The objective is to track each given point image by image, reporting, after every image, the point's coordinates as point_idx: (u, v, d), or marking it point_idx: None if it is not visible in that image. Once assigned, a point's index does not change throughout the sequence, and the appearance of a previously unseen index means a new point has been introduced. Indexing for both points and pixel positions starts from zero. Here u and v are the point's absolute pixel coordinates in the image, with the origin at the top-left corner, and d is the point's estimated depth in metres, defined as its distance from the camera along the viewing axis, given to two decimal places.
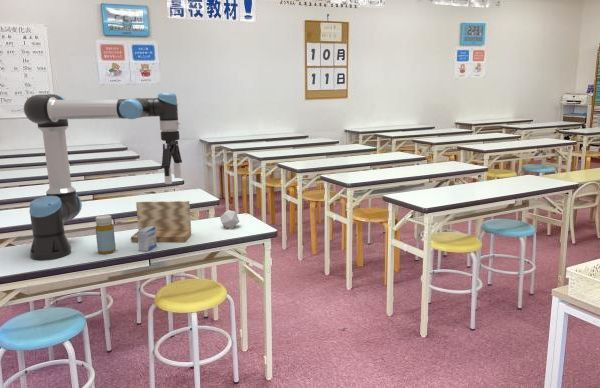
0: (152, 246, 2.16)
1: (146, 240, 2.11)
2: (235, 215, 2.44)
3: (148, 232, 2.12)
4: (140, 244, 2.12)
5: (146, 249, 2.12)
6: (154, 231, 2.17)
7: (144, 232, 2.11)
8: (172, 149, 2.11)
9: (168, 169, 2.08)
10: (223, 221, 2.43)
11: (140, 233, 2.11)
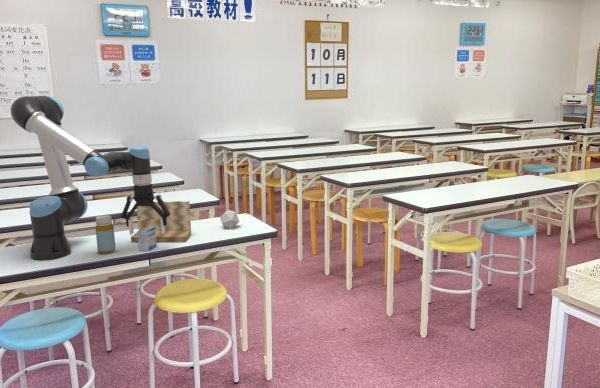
0: (152, 246, 2.16)
1: (146, 240, 2.11)
2: (235, 215, 2.44)
3: (148, 232, 2.12)
4: (140, 244, 2.12)
5: (146, 249, 2.12)
6: (154, 231, 2.17)
7: (144, 232, 2.11)
8: (136, 202, 2.11)
9: (127, 220, 2.13)
10: (223, 221, 2.43)
11: (140, 233, 2.11)
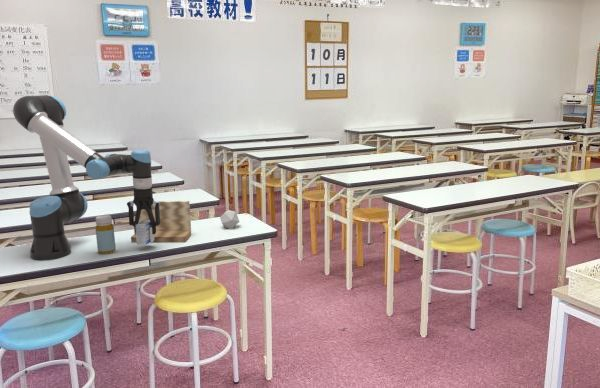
0: (150, 240, 2.15)
1: (145, 233, 2.11)
2: (235, 215, 2.44)
3: (146, 226, 2.12)
4: (138, 237, 2.12)
5: (144, 242, 2.12)
6: None
7: (142, 226, 2.10)
8: (137, 207, 2.11)
9: (135, 227, 2.14)
10: (223, 221, 2.43)
11: (138, 226, 2.11)
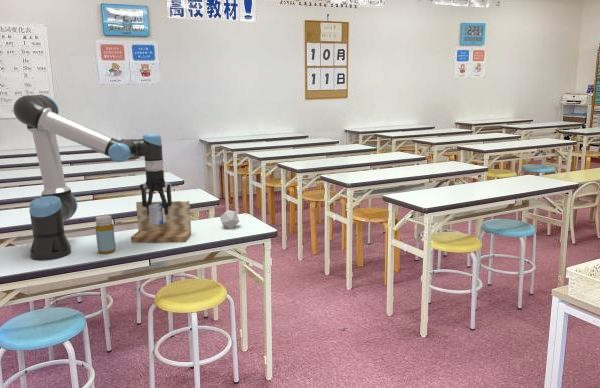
0: (162, 220, 2.24)
1: (157, 214, 2.20)
2: (235, 215, 2.44)
3: (159, 206, 2.21)
4: (151, 218, 2.21)
5: (157, 222, 2.21)
6: None
7: (155, 206, 2.19)
8: (149, 189, 2.21)
9: (148, 209, 2.23)
10: (223, 221, 2.43)
11: (151, 207, 2.20)
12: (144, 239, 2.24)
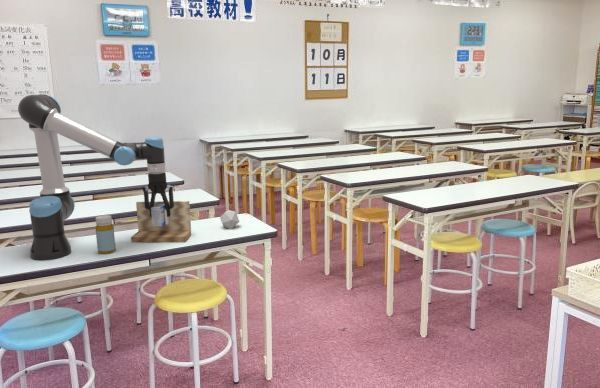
0: None
1: (160, 216, 2.23)
2: (235, 215, 2.44)
3: (161, 209, 2.24)
4: (153, 220, 2.24)
5: (160, 224, 2.24)
6: None
7: (157, 208, 2.23)
8: None
9: (150, 211, 2.26)
10: (223, 221, 2.43)
11: (154, 209, 2.23)
12: (144, 239, 2.24)
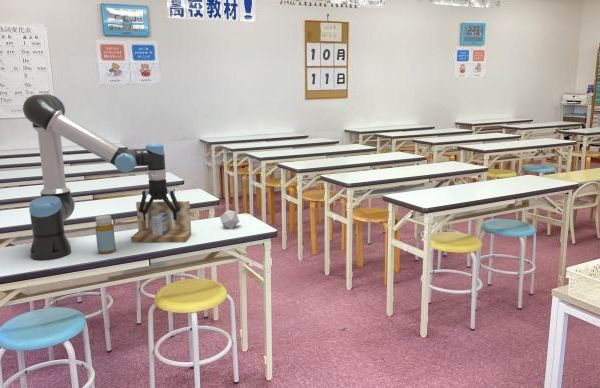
0: (165, 231, 2.29)
1: (161, 225, 2.24)
2: (235, 215, 2.44)
3: (162, 218, 2.25)
4: (154, 229, 2.25)
5: (161, 233, 2.25)
6: (166, 217, 2.30)
7: (158, 218, 2.24)
8: (151, 196, 2.24)
9: (144, 214, 2.27)
10: (223, 221, 2.43)
11: (154, 219, 2.24)
12: (144, 239, 2.24)
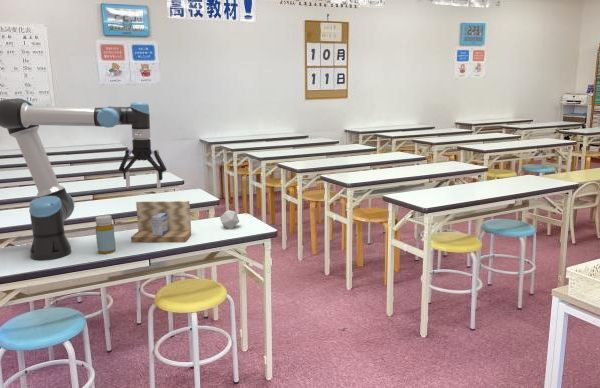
0: (165, 231, 2.29)
1: (161, 225, 2.24)
2: (235, 215, 2.44)
3: (162, 218, 2.25)
4: (154, 229, 2.25)
5: (161, 233, 2.25)
6: (166, 217, 2.30)
7: (158, 218, 2.24)
8: (134, 156, 2.20)
9: (124, 173, 2.22)
10: (223, 221, 2.43)
11: (154, 219, 2.24)
12: (144, 239, 2.24)
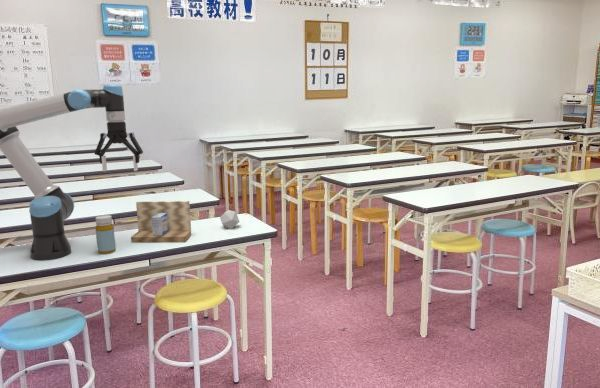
0: (165, 231, 2.29)
1: (161, 225, 2.24)
2: (235, 215, 2.44)
3: (162, 218, 2.25)
4: (154, 229, 2.25)
5: (161, 233, 2.25)
6: (166, 217, 2.30)
7: (158, 218, 2.24)
8: (109, 139, 2.17)
9: (100, 157, 2.19)
10: (223, 221, 2.43)
11: (154, 219, 2.24)
12: (144, 239, 2.24)
